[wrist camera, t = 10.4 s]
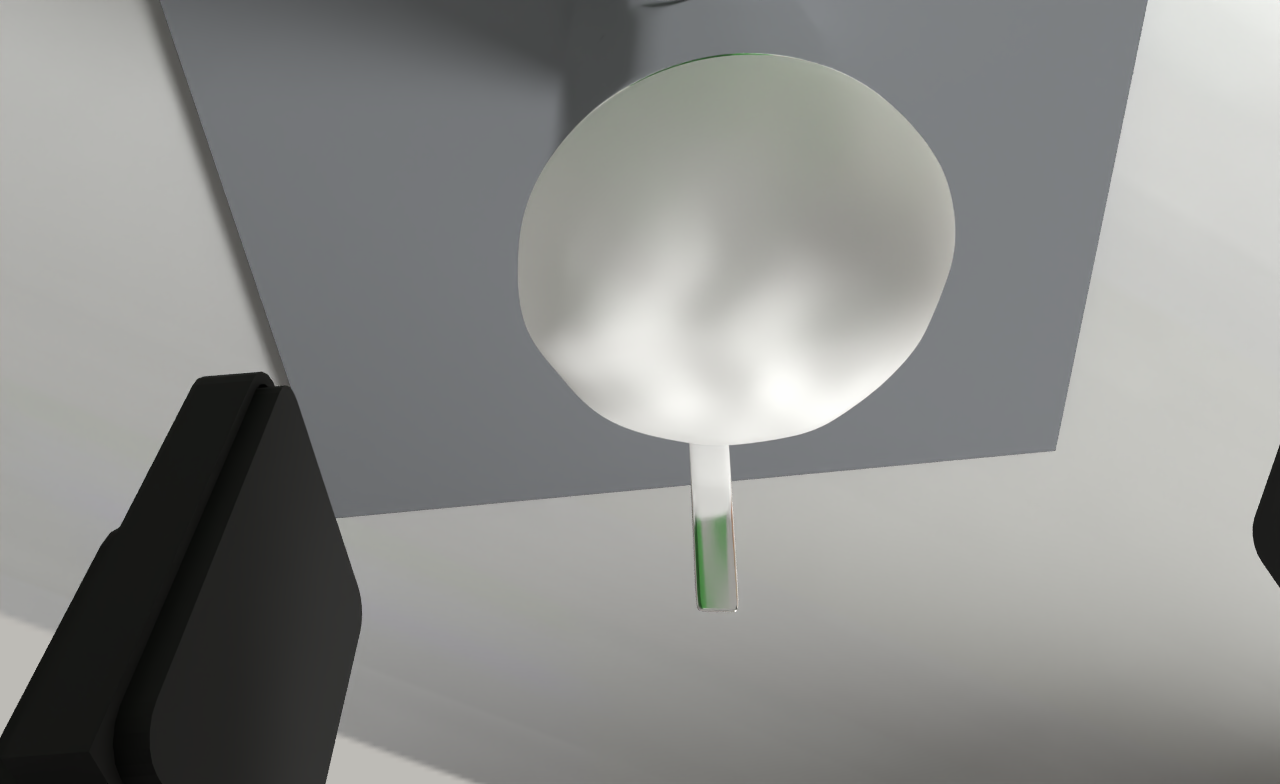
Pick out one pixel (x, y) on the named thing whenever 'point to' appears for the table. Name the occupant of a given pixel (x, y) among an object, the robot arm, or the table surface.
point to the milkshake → (726, 236)
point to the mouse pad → (499, 192)
